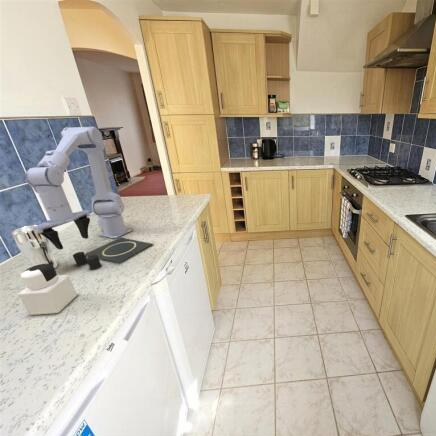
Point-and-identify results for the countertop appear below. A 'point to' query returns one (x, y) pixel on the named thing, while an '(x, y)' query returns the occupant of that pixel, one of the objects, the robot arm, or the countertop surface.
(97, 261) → the eye stopper
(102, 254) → the slate board
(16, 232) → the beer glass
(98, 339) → the countertop surface
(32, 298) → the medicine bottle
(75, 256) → the eye stopper
